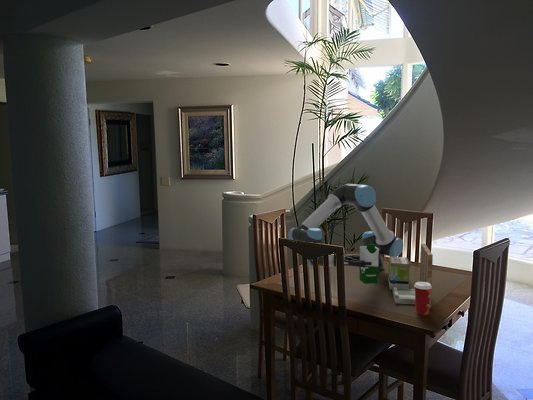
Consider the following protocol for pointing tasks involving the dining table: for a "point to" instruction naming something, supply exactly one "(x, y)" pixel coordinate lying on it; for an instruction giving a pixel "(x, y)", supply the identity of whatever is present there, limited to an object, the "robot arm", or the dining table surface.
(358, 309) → the dining table surface
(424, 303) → the paper cup
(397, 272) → the tea box
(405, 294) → the brown wood-grained piece
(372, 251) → the soya milk
